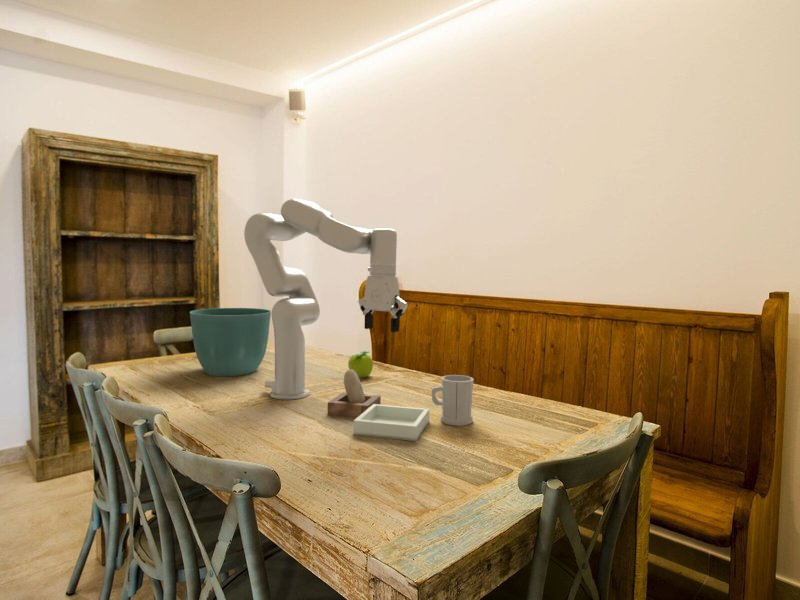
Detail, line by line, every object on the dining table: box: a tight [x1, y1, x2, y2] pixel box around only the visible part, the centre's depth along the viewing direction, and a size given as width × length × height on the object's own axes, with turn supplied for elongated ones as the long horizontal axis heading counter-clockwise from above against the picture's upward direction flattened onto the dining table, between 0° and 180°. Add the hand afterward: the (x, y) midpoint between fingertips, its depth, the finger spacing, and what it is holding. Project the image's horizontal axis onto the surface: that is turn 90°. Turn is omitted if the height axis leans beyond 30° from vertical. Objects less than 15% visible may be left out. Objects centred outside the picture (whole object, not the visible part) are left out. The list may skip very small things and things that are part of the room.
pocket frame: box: [327, 391, 382, 418], centre depth 146 cm, size 12×12×4 cm
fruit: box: [347, 350, 374, 379], centre depth 190 cm, size 9×9×10 cm
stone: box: [343, 369, 365, 403], centre depth 146 cm, size 6×6×12 cm
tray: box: [353, 404, 430, 442], centre depth 131 cm, size 16×16×4 cm
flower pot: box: [189, 307, 272, 377], centre depth 196 cm, size 30×30×24 cm
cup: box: [431, 374, 475, 427], centre depth 137 cm, size 10×9×12 cm
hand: (381, 330), depth 147 cm, fingers open, 9 cm apart
